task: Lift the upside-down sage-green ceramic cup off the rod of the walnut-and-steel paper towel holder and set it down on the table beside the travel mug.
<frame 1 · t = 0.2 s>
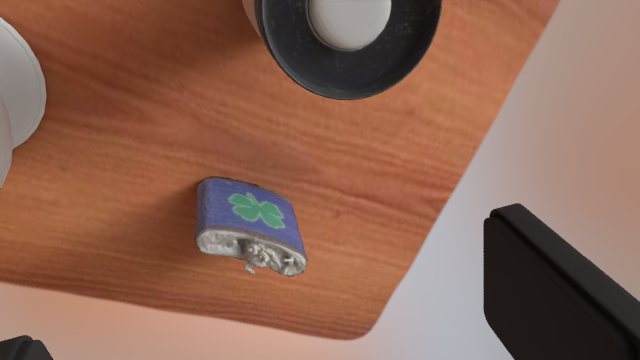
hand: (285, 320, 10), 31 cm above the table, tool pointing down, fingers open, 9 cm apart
flask: (247, 196, 43), on the table
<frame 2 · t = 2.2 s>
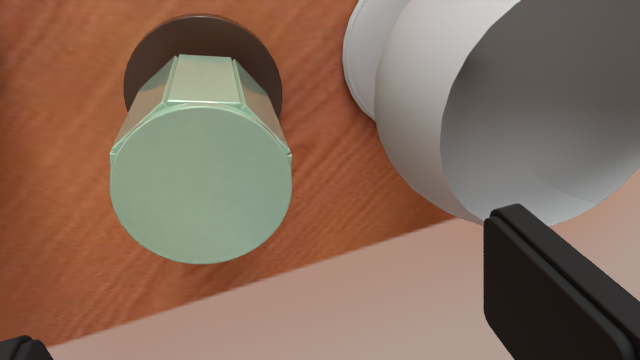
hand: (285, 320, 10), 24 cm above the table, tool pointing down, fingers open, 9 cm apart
chalice: (422, 48, 34), on the table
green cup: (205, 118, 27), point 6 cm above the table, touching towel holder
towel holder: (205, 91, 31), on the table
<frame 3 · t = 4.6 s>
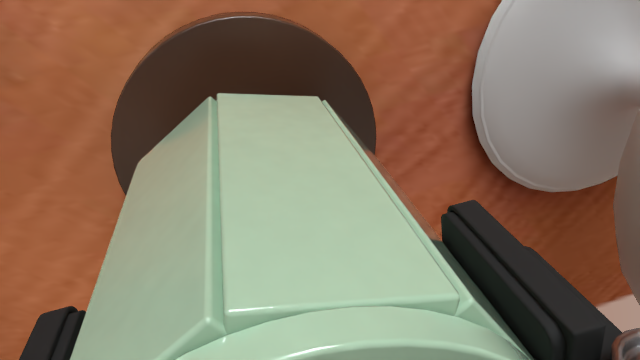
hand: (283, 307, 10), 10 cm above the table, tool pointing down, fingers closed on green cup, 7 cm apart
chalice: (591, 65, 21), on the table
green cup: (263, 209, 14), point 6 cm above the table, touching gripper, towel holder
towel holder: (249, 141, 19), on the table
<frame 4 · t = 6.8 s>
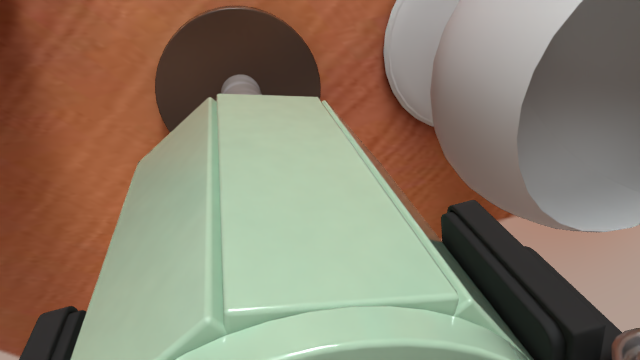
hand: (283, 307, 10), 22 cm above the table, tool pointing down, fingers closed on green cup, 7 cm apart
chalice: (466, 41, 32), on the table
green cup: (263, 209, 14), point 17 cm above the table, touching gripper
towel holder: (239, 89, 30), on the table
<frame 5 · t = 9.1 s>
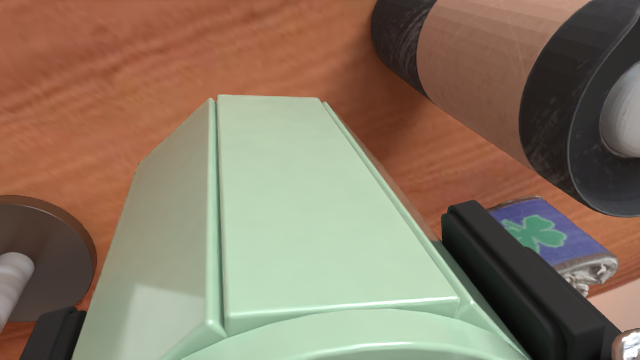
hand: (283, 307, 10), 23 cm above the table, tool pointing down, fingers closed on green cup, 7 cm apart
flask: (495, 217, 41), on the table
green cup: (263, 210, 14), point 19 cm above the table, touching gripper
towel holder: (21, 256, 33), on the table
travel mug: (418, 23, 32), on the table
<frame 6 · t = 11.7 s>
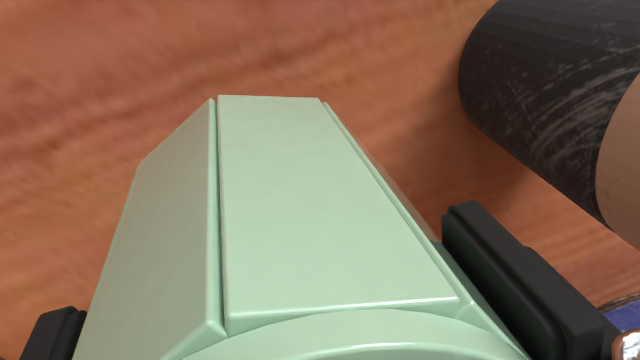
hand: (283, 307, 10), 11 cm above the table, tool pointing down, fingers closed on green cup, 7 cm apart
flask: (600, 317, 30), on the table
green cup: (264, 210, 14), point 6 cm above the table, touching gripper
travel mug: (528, 64, 21), on the table
when the fingers open (4 cm above the table, at t = 13.8 s): green cup stays where it is, on the table.
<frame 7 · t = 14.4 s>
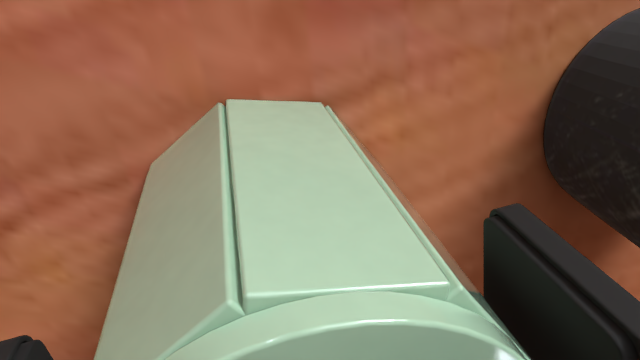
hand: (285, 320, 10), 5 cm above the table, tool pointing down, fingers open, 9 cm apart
green cup: (269, 209, 15), on the table
travel mug: (631, 108, 16), on the table
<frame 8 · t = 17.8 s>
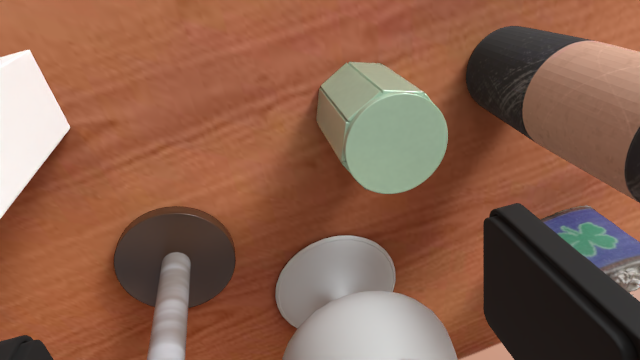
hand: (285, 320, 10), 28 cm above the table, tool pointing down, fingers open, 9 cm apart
flask: (552, 223, 49), on the table
chalice: (335, 283, 47), on the table
green cup: (359, 105, 39), on the table
towel holder: (177, 255, 41), on the table
milk: (10, 100, 33), on the table
travel mug: (502, 68, 40), on the table
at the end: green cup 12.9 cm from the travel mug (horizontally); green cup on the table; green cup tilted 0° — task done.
